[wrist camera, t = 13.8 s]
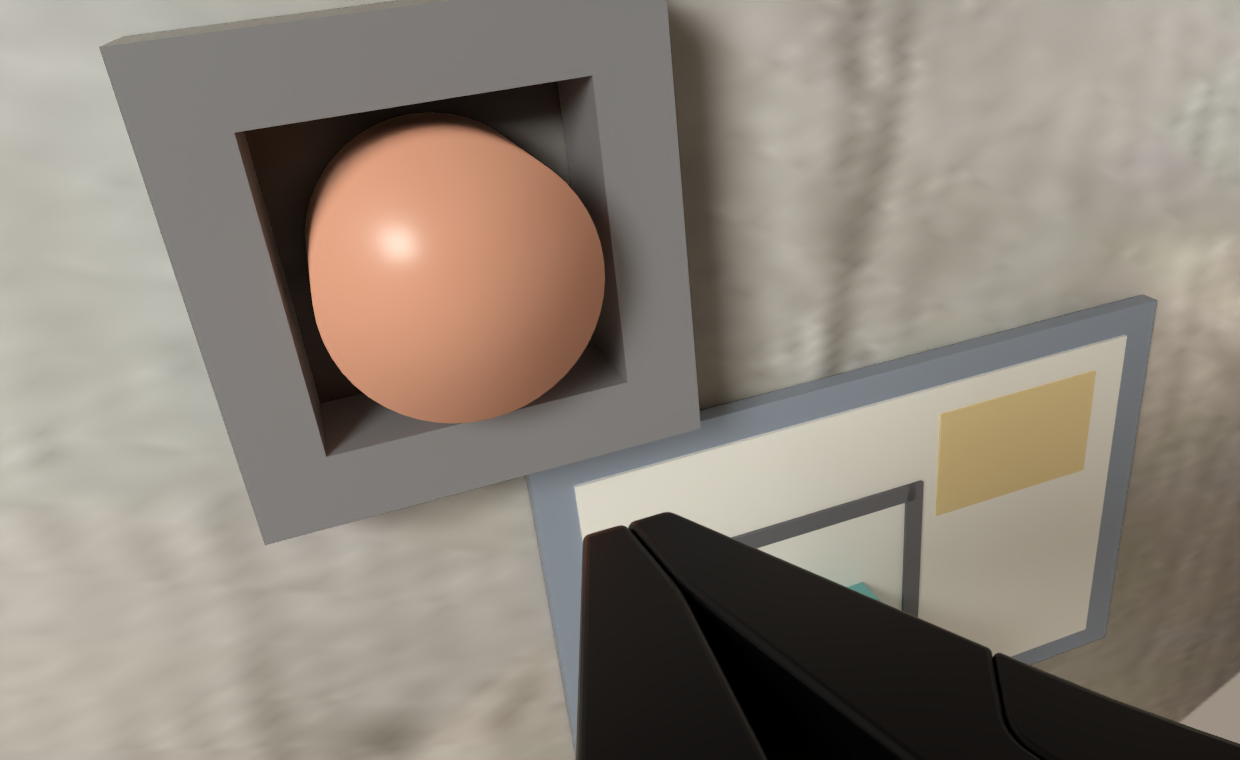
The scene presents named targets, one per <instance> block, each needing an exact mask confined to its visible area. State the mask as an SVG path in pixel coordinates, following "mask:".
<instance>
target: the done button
mask: <svg viewBox="0 0 1240 760" xmlns="http://www.w3.org/2000/svg"><path fill="white" fill-rule="evenodd" d="M305 240H306V253H307V262H308V270H309V278H310V287H311V295H312V304H313V309H314V314H315V319H316V323H317V326H318V329H319V332H320V335H321V338H322V341H323V342H324V344H325V346H326V348H327V350H328V352H329V354H330V356H331V358H332V359H333V361H334V362H335V363H336V365H337V366H338V368H339V369H340V370H341V372H342V373H343V374H344V375H345V376H346V377H347V378H348V379H349V380H350V381H351V383H352V384H353V385H354V386H356V387H357V388H358V389H359V390H360V391H362V392H363V393H364V394H365V395H367V396H368V397H369V398H371V399H372V400H374V401H376V402H377V403H379V404H381V405H382V406H384V407H386V408H388V409H390V410H393V411H395V412H397V413H399V414H402V415H405V416H409V417H412V418H415V419H418V420H424V421H430V422H436V423H454V424H455V423H469V422H477V421H482V420H487V419H492V418H495V417H498V416H501V415H504V414H508V413H510V412H512V411H514V410H517V409H519V408H521V407H523V406H525V405H527V404H529V403H530V402H532V401H534V400H535V399H537V398H539V397H540V396H541V395H543V394H544V393H545V392H547V391H548V390H549V389H551V388H552V387H553V386H554V385H555V384H557V383H558V382H559V381H560V380H561V379H562V378H563V377H564V376H565V375H566V374H567V373H568V371H569V370H570V369H571V368H572V367H573V365H574V364H575V363H576V362H577V360H578V359H579V357H580V356H581V354H582V353H583V351H584V350H585V348H586V346H587V345H588V343H589V340H590V338H591V336H592V334H593V332H594V330H595V327H596V324H597V321H598V318H599V315H600V312H601V307H602V302H603V297H604V286H605V268H604V258H603V253H602V247H601V243H600V240H599V237H598V234H597V231H596V228H595V225H594V223H593V221H592V219H591V217H590V215H589V213H588V211H587V209H586V208H585V206H584V205H583V203H582V202H581V200H580V199H579V197H578V196H577V195H576V194H575V192H574V191H573V190H572V189H571V188H570V187H569V186H568V185H567V183H566V182H565V181H564V180H562V179H561V178H560V177H559V176H558V175H557V174H555V173H554V172H553V171H552V170H551V169H549V168H548V167H547V166H545V165H544V164H542V163H541V162H540V161H538V160H537V159H535V158H534V157H533V156H531V155H530V154H528V153H527V152H526V151H524V150H523V149H521V148H520V147H519V146H517V145H516V144H514V143H513V142H512V141H510V140H509V139H507V138H506V137H505V136H503V135H501V134H500V133H498V132H497V131H495V130H494V129H492V128H490V127H488V126H486V125H484V124H482V123H480V122H477V121H475V120H472V119H469V118H465V117H462V116H458V115H452V114H446V113H431V112H425V113H414V114H407V115H403V116H399V117H394V118H391V119H388V120H386V121H383V122H381V123H378V124H376V125H374V126H372V127H370V128H368V129H367V130H365V131H363V132H361V133H360V134H359V135H357V136H356V137H354V138H353V139H352V140H350V141H349V142H348V143H347V144H346V145H345V146H344V147H343V148H342V149H341V150H340V151H339V152H337V153H336V154H335V156H334V157H333V158H332V160H331V161H330V162H329V164H328V165H327V166H326V167H325V169H324V171H323V172H322V174H321V176H320V178H319V180H318V181H317V183H316V186H315V188H314V191H313V193H312V196H311V198H310V203H309V207H308V211H307V216H306V227H305Z"/></svg>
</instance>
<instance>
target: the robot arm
mask: <svg viewBox="0 0 1240 760" xmlns="http://www.w3.org/2000/svg"><path fill="white" fill-rule="evenodd" d="M576 760H1240V744H1238V743H1235V742H1232V741H1229V740H1226V739H1223V738H1221V737H1218V736H1215V735H1212V734H1209V733H1206V732H1203V731H1200V730H1197V729H1194V728H1192V727H1189V726H1186V725H1183V724H1181V723H1178V722H1175V721H1172V720H1170V719H1167V718H1164V717H1161V716H1159V715H1156V714H1153V713H1150V712H1147V711H1145V710H1142V709H1139V708H1136V707H1134V706H1131V705H1128V704H1125V703H1123V702H1120V701H1117V700H1114V699H1112V698H1109V697H1107V696H1104V695H1102V694H1099V693H1097V692H1094V691H1092V690H1089V689H1087V688H1084V687H1082V686H1080V685H1077V684H1075V683H1072V682H1070V681H1067V680H1065V679H1062V678H1060V677H1057V676H1055V675H1052V674H1050V673H1047V672H1045V671H1042V670H1040V669H1038V668H1035V667H1033V666H1031V665H1028V664H1026V663H1024V662H1021V661H1019V660H1017V659H1014V658H1012V657H1010V656H1007V655H1005V654H1003V653H996V654H995V655H994V656H993V655H992V651H991V650H990V649H989V648H988V647H986V646H983V645H981V644H979V643H976V642H974V641H971V640H969V639H967V638H964V637H962V636H960V635H957V634H955V633H953V632H950V631H948V630H946V629H943V628H941V627H939V626H936V625H934V624H932V623H929V622H927V621H925V620H922V619H920V618H918V617H915V616H913V615H911V614H908V613H906V612H904V611H901V610H899V609H897V608H894V607H892V606H890V605H887V604H885V603H883V602H880V601H878V600H876V599H873V598H871V597H869V596H866V595H864V594H862V593H859V592H857V591H855V590H852V589H850V588H848V587H845V586H843V585H841V584H838V583H836V582H834V581H831V580H829V579H827V578H824V577H822V576H820V575H817V574H815V573H813V572H810V571H808V570H806V569H803V568H801V567H799V566H796V565H794V564H792V563H789V562H787V561H785V560H782V559H780V558H778V557H775V556H773V555H771V554H768V553H766V552H764V551H761V550H759V549H757V548H754V547H752V546H749V545H747V544H745V543H742V542H740V541H738V540H735V539H733V538H731V537H728V536H726V535H724V534H721V533H719V532H717V531H714V530H712V529H710V528H707V527H705V526H703V525H700V524H698V523H696V522H693V521H691V520H689V519H686V518H684V517H682V516H679V515H677V514H674V513H671V512H663V513H660V514H656V515H653V516H650V517H646V518H643V519H639V520H636V521H633V522H631V523H630V525H629V527H628V528H627V527H626V526H623V525H619V526H615V527H612V528H608V529H605V530H601V531H598V532H594V533H591V534H588V535H586V536H585V537H584V539H583V548H582V579H581V610H580V641H579V672H578V704H577V735H576Z"/></svg>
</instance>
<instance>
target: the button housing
mask: <svg viewBox="0 0 1240 760" xmlns="http://www.w3.org/2000/svg"><path fill="white" fill-rule="evenodd" d="M99 48H100V51H101V54H102V57H103V60H104V63H105V66H106V69H107V72H108V75H109V78H110V81H111V84H112V87H113V90H114V93H115V96H116V99H117V102H118V105H119V108H120V111H121V114H122V117H123V120H124V123H125V126H126V129H127V132H128V135H129V138H130V141H131V144H132V147H133V150H134V153H135V156H136V159H137V162H138V165H139V168H140V171H141V174H142V177H143V180H144V183H145V186H146V189H147V192H148V195H149V198H150V201H151V204H152V207H153V210H154V213H155V216H156V219H157V222H158V225H159V228H160V231H161V234H162V237H163V240H164V243H165V246H166V249H167V252H168V255H169V258H170V261H171V264H172V267H173V270H174V273H175V276H176V279H177V282H178V285H179V288H180V291H181V294H182V297H183V300H184V303H185V306H186V309H187V312H188V315H189V318H190V321H191V324H192V327H193V330H194V333H195V336H196V339H197V342H198V345H199V348H200V351H201V354H202V357H203V360H204V363H205V366H206V369H207V372H208V375H209V378H210V381H211V384H212V387H213V390H214V393H215V396H216V399H217V402H218V405H219V408H220V411H221V414H222V417H223V420H224V423H225V426H226V429H227V432H228V435H229V438H230V441H231V444H232V447H233V450H234V453H235V456H236V459H237V462H238V465H239V468H240V471H241V474H242V477H243V480H244V483H245V486H246V489H247V492H248V495H249V498H250V501H251V504H252V507H253V510H254V513H255V516H256V519H257V522H258V525H259V528H260V531H261V534H262V537H263V540H264V543H265V545H267V544H271V543H275V542H279V541H282V540H286V539H290V538H294V537H297V536H301V535H305V534H309V533H312V532H316V531H320V530H324V529H327V528H331V527H335V526H339V525H342V524H346V523H350V522H353V521H357V520H361V519H365V518H368V517H372V516H376V515H380V514H383V513H387V512H391V511H395V510H398V509H402V508H406V507H410V506H413V505H417V504H421V503H425V502H428V501H432V500H436V499H439V498H443V497H447V496H451V495H454V494H458V493H462V492H466V491H469V490H473V489H477V488H481V487H484V486H488V485H492V484H496V483H499V482H503V481H507V480H511V479H514V478H518V477H522V476H525V475H529V474H533V473H537V472H540V471H544V470H548V469H552V468H555V467H559V466H563V465H567V464H570V463H574V462H578V461H582V460H585V459H589V458H593V457H597V456H600V455H604V454H608V453H612V452H615V451H619V450H623V449H626V448H630V447H634V446H638V445H641V444H645V443H649V442H653V441H656V440H660V439H664V438H668V437H671V436H675V435H679V434H683V433H686V432H690V431H694V430H698V429H701V424H700V412H699V399H698V386H697V374H696V361H695V349H694V336H693V323H692V311H691V298H690V285H689V273H688V260H687V247H686V235H685V222H684V209H683V197H682V184H681V171H680V159H679V146H678V133H677V121H676V108H675V96H674V83H673V70H672V58H671V45H670V32H669V20H668V7H667V0H398V1H391V2H383V3H375V4H368V5H360V6H353V7H345V8H337V9H330V10H322V11H314V12H307V13H299V14H292V15H284V16H276V17H269V18H261V19H253V20H246V21H238V22H231V23H223V24H215V25H208V26H200V27H192V28H185V29H177V30H170V31H162V32H154V33H147V34H139V35H131V36H124V37H121V38H119V39H116V40H114V41H112V42H109V43H107V44H105V45H103V46H100V47H99ZM555 81H557V83H558V91H559V99H560V106H561V114H562V121H563V129H564V137H565V144H566V152H567V159H568V167H569V175H570V182H571V189H572V190H573V191H574V192H575V194H576V195H577V196H578V197H579V199H580V200H581V202H582V203H583V205H584V206H585V208H586V209H587V211H588V213H589V215H590V217H591V219H592V221H593V223H594V225H595V228H596V231H597V234H598V237H599V240H600V243H601V247H602V253H603V258H604V268H605V286H604V297H603V302H602V307H601V312H600V315H599V318H598V321H597V324H596V327H595V330H594V332H593V334H592V336H591V340H589V343H588V345H587V346H586V348H585V350H584V351H583V353H582V354H581V356H580V357H579V359H578V360H577V362H576V363H575V364H574V365H573V367H572V368H571V369H570V370H569V371H568V373H567V374H566V375H565V376H564V377H563V378H562V379H561V380H560V381H559V382H558V383H557V384H555V385H554V386H553V387H552V388H551V389H549V390H548V391H547V392H545V393H544V394H543V395H541V396H540V397H539V398H537V399H535V400H534V401H532V402H530V403H529V404H527V405H525V406H523V407H521V408H519V409H517V410H514V411H512V412H510V413H508V414H504V415H501V416H498V417H495V418H492V419H487V420H482V421H477V422H469V423H455V424H454V423H436V422H430V421H424V420H418V419H415V418H412V417H409V416H405V415H402V414H399V413H397V412H395V411H393V410H390V409H388V408H386V407H384V406H382V405H381V404H379V403H377V402H376V401H374V400H372V399H371V398H369V397H368V396H367V395H365V394H364V393H362V394H358V395H354V396H349V397H345V398H341V399H337V400H332V401H328V402H324V403H320V400H319V396H318V393H317V389H316V386H315V382H314V378H313V375H312V371H311V368H310V364H309V360H308V357H307V353H306V350H305V346H304V343H303V339H302V335H301V332H300V328H299V325H298V321H297V317H296V314H295V310H294V307H293V303H292V300H291V296H290V292H289V289H288V285H287V282H286V278H285V274H284V271H283V267H282V264H281V260H280V256H279V253H278V249H277V246H276V242H275V239H274V235H273V231H272V228H271V224H270V221H269V217H268V213H267V210H266V206H265V203H264V199H263V196H262V192H261V188H260V185H259V181H258V178H257V174H256V170H255V167H254V163H253V160H252V156H251V152H250V149H249V145H248V142H247V138H246V135H245V131H248V130H254V129H260V128H267V127H273V126H279V125H285V124H292V123H298V122H304V121H311V120H317V119H323V118H329V117H336V116H342V115H348V114H354V113H361V112H367V111H373V110H379V109H386V108H392V107H398V106H405V105H411V104H417V103H423V102H430V101H436V100H442V99H448V98H455V97H461V96H467V95H474V94H480V93H486V92H492V91H499V90H505V89H511V88H517V87H524V86H530V85H536V84H542V83H549V82H555Z"/></svg>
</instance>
